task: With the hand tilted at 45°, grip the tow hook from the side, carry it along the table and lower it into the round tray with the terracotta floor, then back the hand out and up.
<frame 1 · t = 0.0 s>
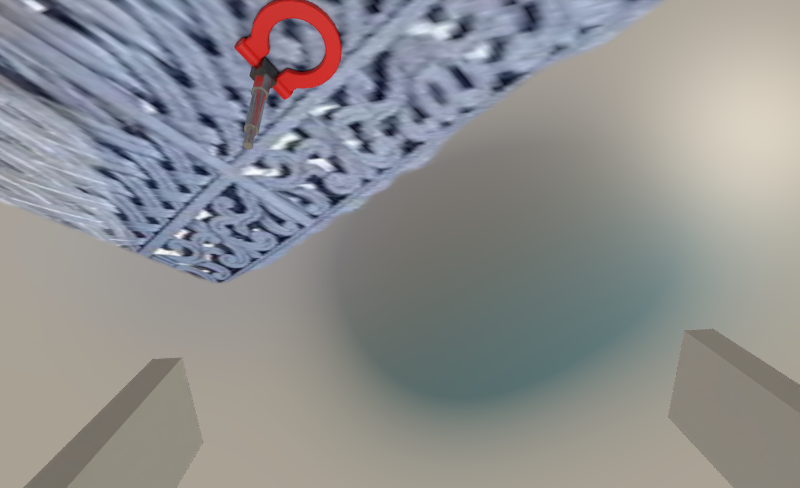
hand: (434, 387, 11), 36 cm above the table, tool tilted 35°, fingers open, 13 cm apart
tow hook: (294, 44, 39), on the table
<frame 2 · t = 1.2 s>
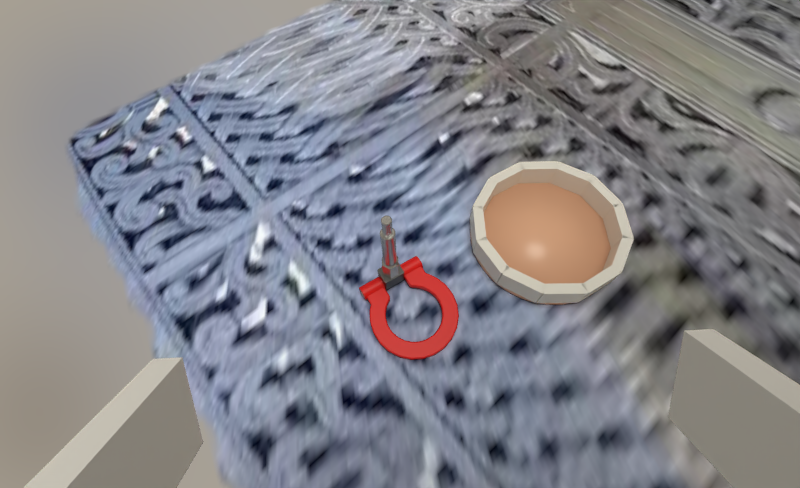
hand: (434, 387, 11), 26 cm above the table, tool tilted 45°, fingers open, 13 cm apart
tow hook: (411, 312, 39), on the table
round tray: (541, 236, 42), on the table
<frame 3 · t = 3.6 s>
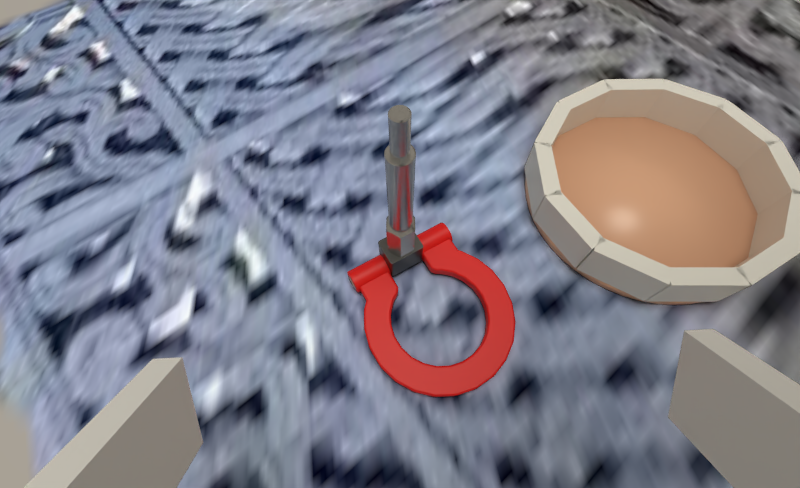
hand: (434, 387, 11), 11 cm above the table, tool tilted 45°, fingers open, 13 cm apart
tow hook: (434, 314, 23), on the table
round tray: (639, 196, 26), on the table
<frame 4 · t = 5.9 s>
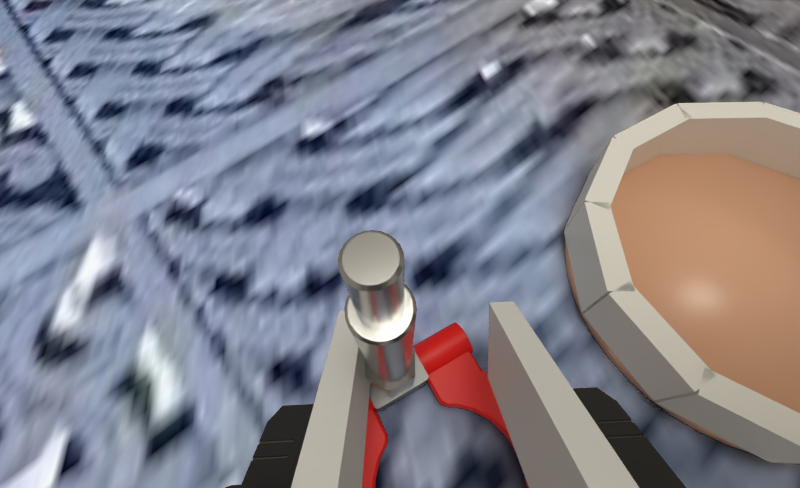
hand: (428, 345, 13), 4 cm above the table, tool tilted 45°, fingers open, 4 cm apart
tow hook: (444, 475, 15), on the table, touching gripper
round tray: (733, 274, 18), on the table
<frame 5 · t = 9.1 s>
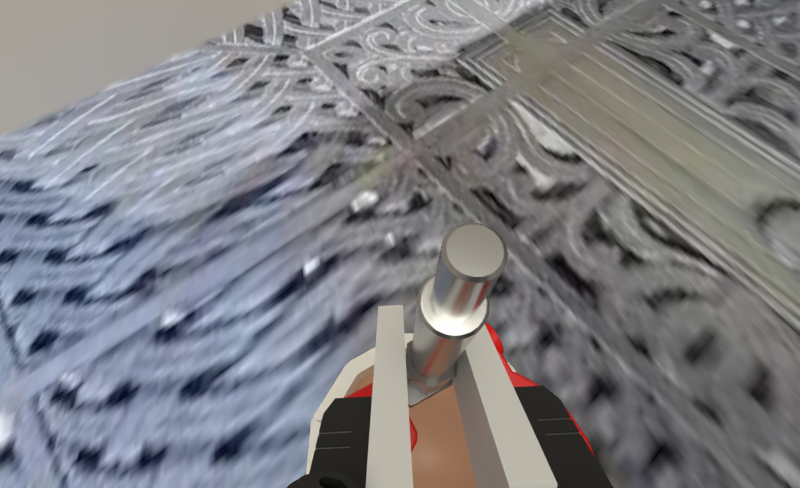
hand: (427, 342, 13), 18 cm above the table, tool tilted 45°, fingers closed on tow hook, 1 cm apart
tow hook: (472, 474, 15), point 13 cm above the table, touching gripper
round tray: (428, 455, 27), on the table
when the fingers open (6 cm above the table, at t = 12.2 s): tow hook drops 1 cm, resting on round tray.
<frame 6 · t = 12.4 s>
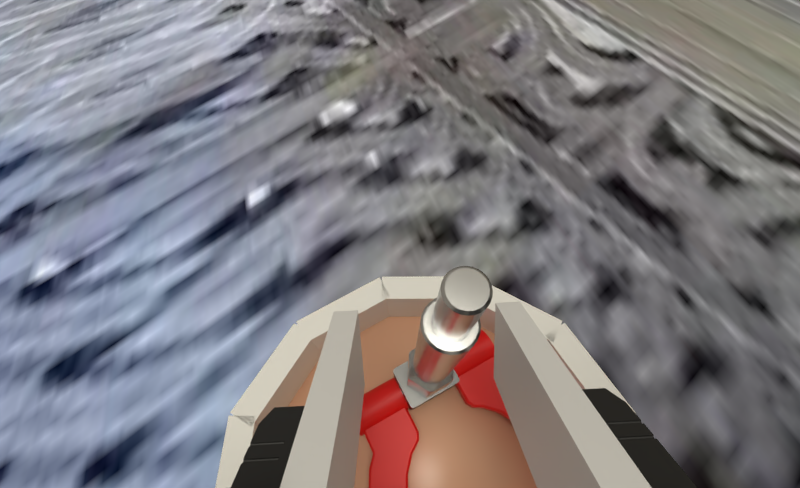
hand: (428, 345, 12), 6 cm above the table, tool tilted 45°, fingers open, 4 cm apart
tow hook: (469, 470, 16), resting on round tray
round tray: (429, 473, 16), on the table
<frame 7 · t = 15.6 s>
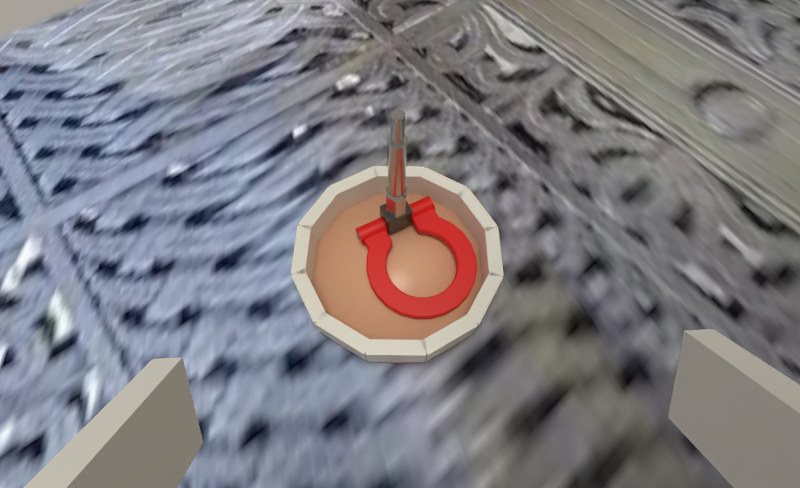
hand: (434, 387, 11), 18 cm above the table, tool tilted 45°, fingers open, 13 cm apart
tow hook: (418, 263, 31), resting on round tray
round tray: (397, 266, 31), on the table
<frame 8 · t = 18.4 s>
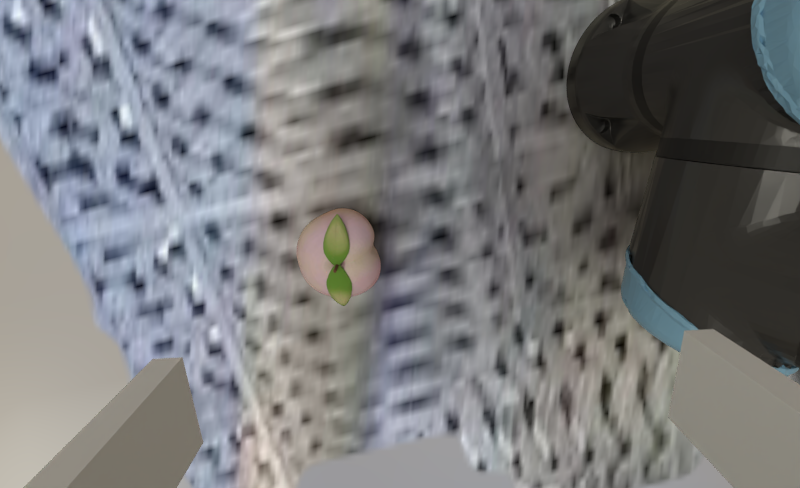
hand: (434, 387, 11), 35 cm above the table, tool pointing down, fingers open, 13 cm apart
decorative fruit: (344, 240, 46), on the table
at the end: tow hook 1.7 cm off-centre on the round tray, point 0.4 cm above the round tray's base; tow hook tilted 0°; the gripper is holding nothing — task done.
